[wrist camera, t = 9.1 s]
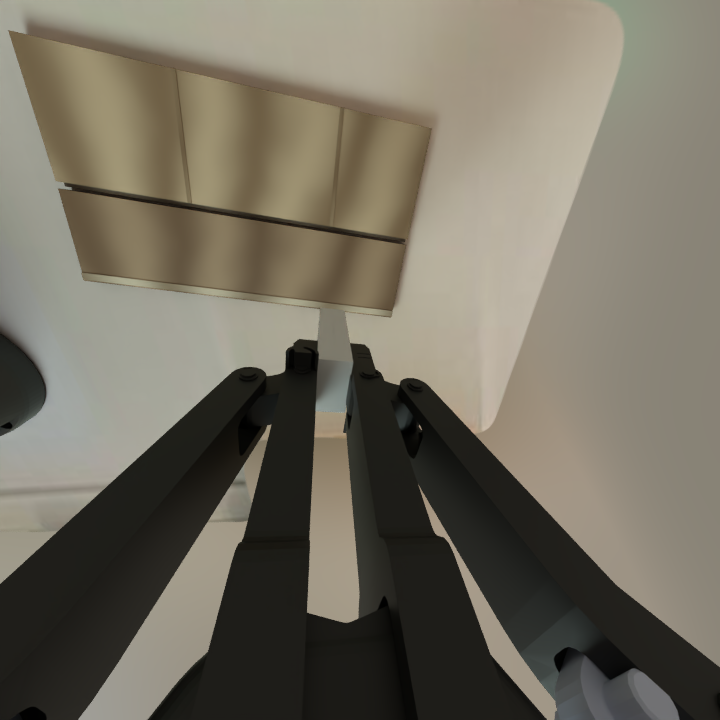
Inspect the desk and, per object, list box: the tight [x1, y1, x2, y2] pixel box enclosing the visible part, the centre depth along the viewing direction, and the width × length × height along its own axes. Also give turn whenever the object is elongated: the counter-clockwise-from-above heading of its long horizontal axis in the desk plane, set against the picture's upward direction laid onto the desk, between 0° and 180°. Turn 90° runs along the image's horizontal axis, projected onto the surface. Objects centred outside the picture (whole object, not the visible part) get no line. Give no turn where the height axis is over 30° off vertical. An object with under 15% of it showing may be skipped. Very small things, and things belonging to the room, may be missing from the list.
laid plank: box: [8, 30, 431, 242], centre depth 22 cm, size 28×8×1 cm, turn 81°
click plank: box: [58, 189, 406, 317], centre depth 25 cm, size 28×7×1 cm, turn 81°
